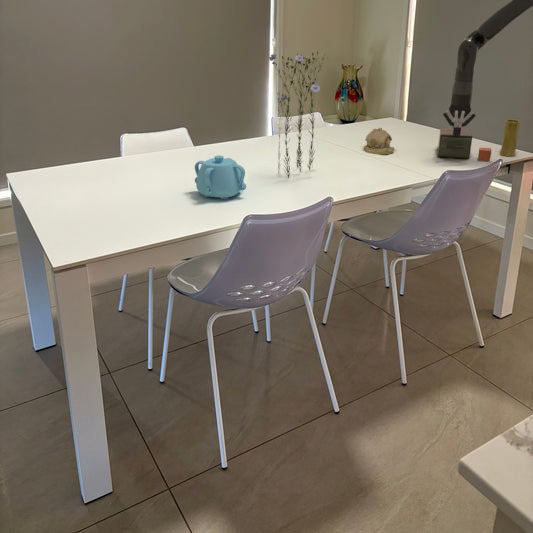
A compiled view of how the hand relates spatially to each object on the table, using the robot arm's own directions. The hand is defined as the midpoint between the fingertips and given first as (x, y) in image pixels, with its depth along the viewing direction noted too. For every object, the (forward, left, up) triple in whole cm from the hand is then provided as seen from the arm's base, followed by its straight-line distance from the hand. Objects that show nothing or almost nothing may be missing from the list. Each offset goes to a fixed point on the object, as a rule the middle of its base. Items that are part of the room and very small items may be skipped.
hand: (456, 136), depth 239 cm
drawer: (-3, -5, -9) cm, 11 cm away
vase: (-26, -1, -10) cm, 28 cm away
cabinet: (-5, -9, -10) cm, 14 cm away
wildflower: (+69, +2, -10) cm, 70 cm away
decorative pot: (+101, +16, -10) cm, 103 cm away
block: (-12, +3, -10) cm, 16 cm away
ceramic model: (+23, -23, -10) cm, 34 cm away
